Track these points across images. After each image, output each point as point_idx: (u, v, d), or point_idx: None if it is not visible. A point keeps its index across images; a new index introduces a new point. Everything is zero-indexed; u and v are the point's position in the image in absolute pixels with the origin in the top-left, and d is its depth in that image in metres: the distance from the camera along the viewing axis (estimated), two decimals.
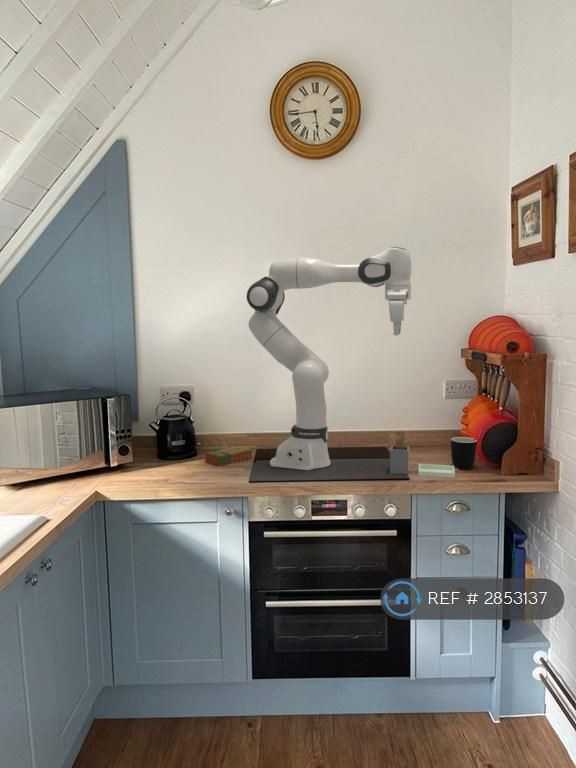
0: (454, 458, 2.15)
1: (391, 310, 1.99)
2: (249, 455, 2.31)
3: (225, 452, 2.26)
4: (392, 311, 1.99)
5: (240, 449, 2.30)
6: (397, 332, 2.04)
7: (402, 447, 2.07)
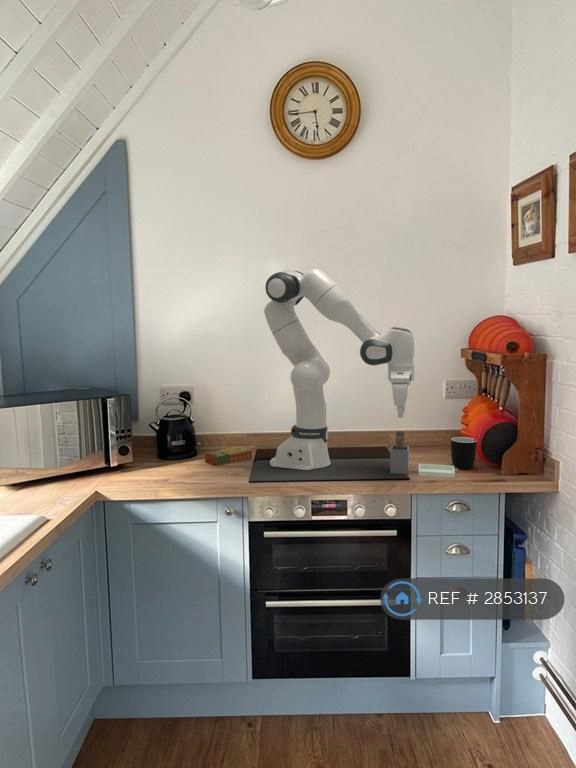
0: (454, 458, 2.15)
1: (395, 394, 1.97)
2: (249, 455, 2.30)
3: (224, 452, 2.26)
4: (396, 395, 1.97)
5: (240, 449, 2.30)
6: (401, 414, 2.01)
7: (402, 447, 2.07)
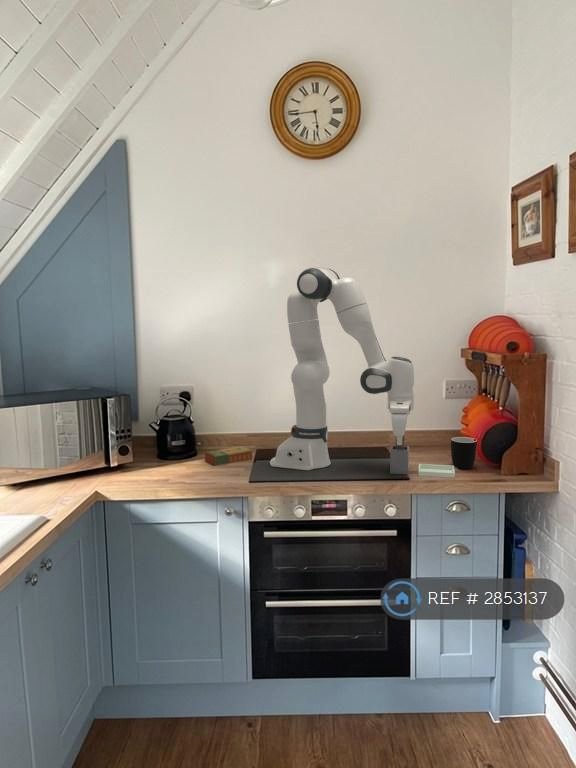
0: (454, 458, 2.15)
1: (394, 424, 1.98)
2: (249, 456, 2.30)
3: (224, 452, 2.26)
4: (395, 425, 1.98)
5: (240, 449, 2.30)
6: (400, 442, 2.05)
7: (402, 447, 2.07)
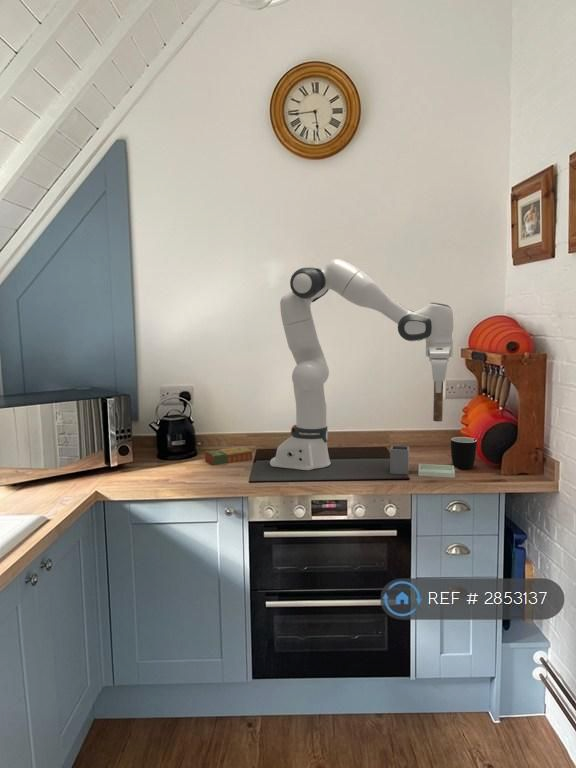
0: (454, 458, 2.15)
1: (434, 369, 1.94)
2: (249, 456, 2.29)
3: (223, 452, 2.26)
4: (435, 370, 1.94)
5: (240, 450, 2.29)
6: (439, 390, 2.01)
7: (441, 395, 2.03)
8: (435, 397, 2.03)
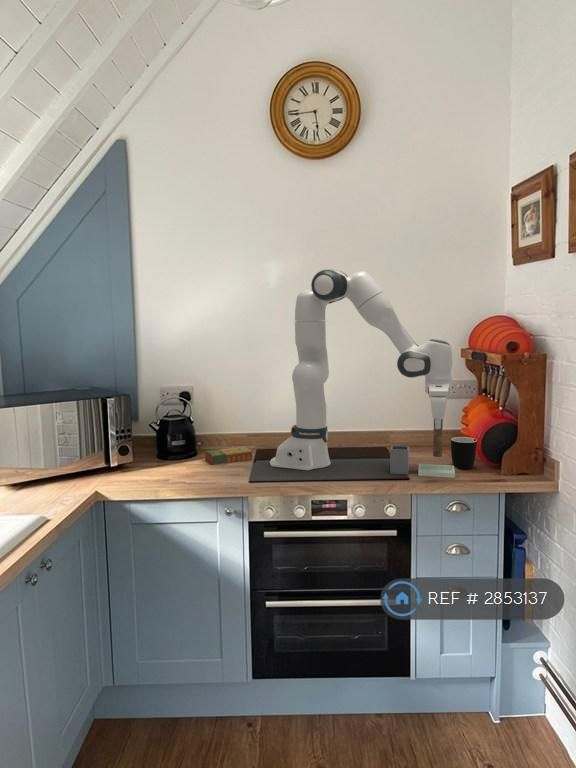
0: (454, 458, 2.15)
1: (433, 407, 1.95)
2: (249, 457, 2.29)
3: (223, 452, 2.27)
4: (435, 408, 1.95)
5: (240, 450, 2.29)
6: (439, 426, 2.03)
7: (440, 431, 2.04)
8: (435, 433, 2.05)
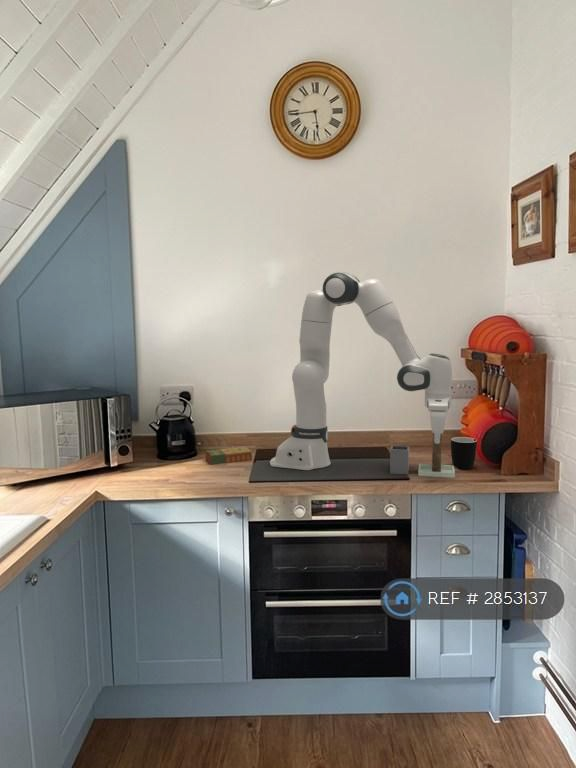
0: (454, 458, 2.15)
1: (433, 422, 1.96)
2: (249, 457, 2.28)
3: (223, 451, 2.27)
4: (434, 423, 1.96)
5: (240, 450, 2.29)
6: (438, 440, 2.02)
7: (439, 448, 2.05)
8: (434, 450, 2.06)
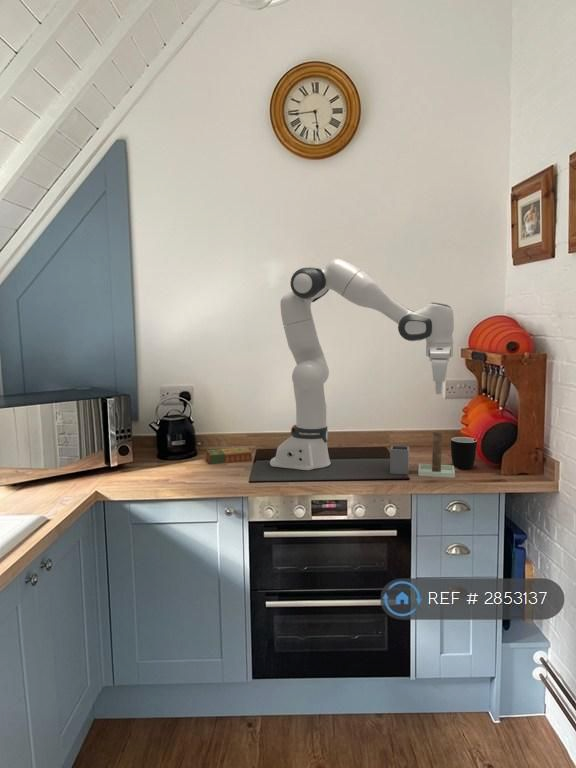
0: (454, 458, 2.15)
1: (434, 369, 1.94)
2: (249, 457, 2.28)
3: (222, 451, 2.27)
4: (435, 370, 1.94)
5: (240, 450, 2.28)
6: (439, 391, 1.99)
7: (439, 448, 2.05)
8: (434, 450, 2.06)
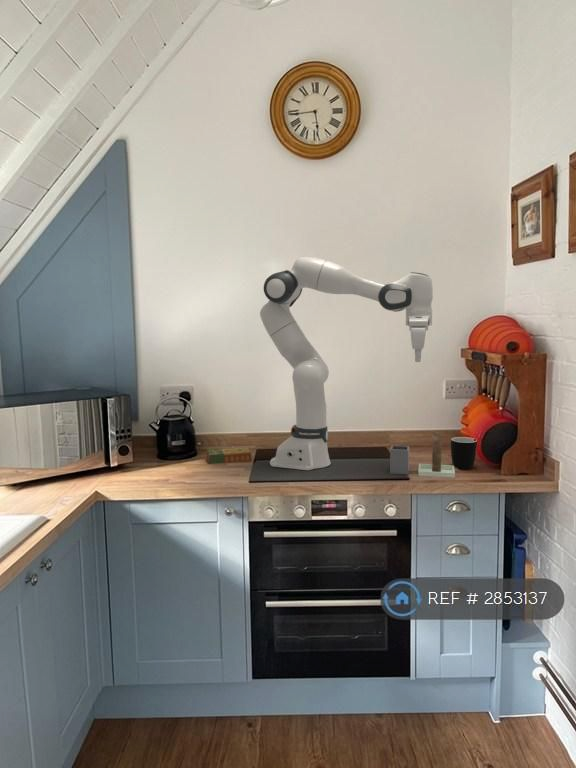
0: (454, 458, 2.15)
1: (413, 337, 1.97)
2: (248, 457, 2.27)
3: (222, 451, 2.27)
4: (414, 338, 1.97)
5: (240, 450, 2.28)
6: (418, 359, 2.02)
7: (439, 448, 2.05)
8: (434, 450, 2.06)
